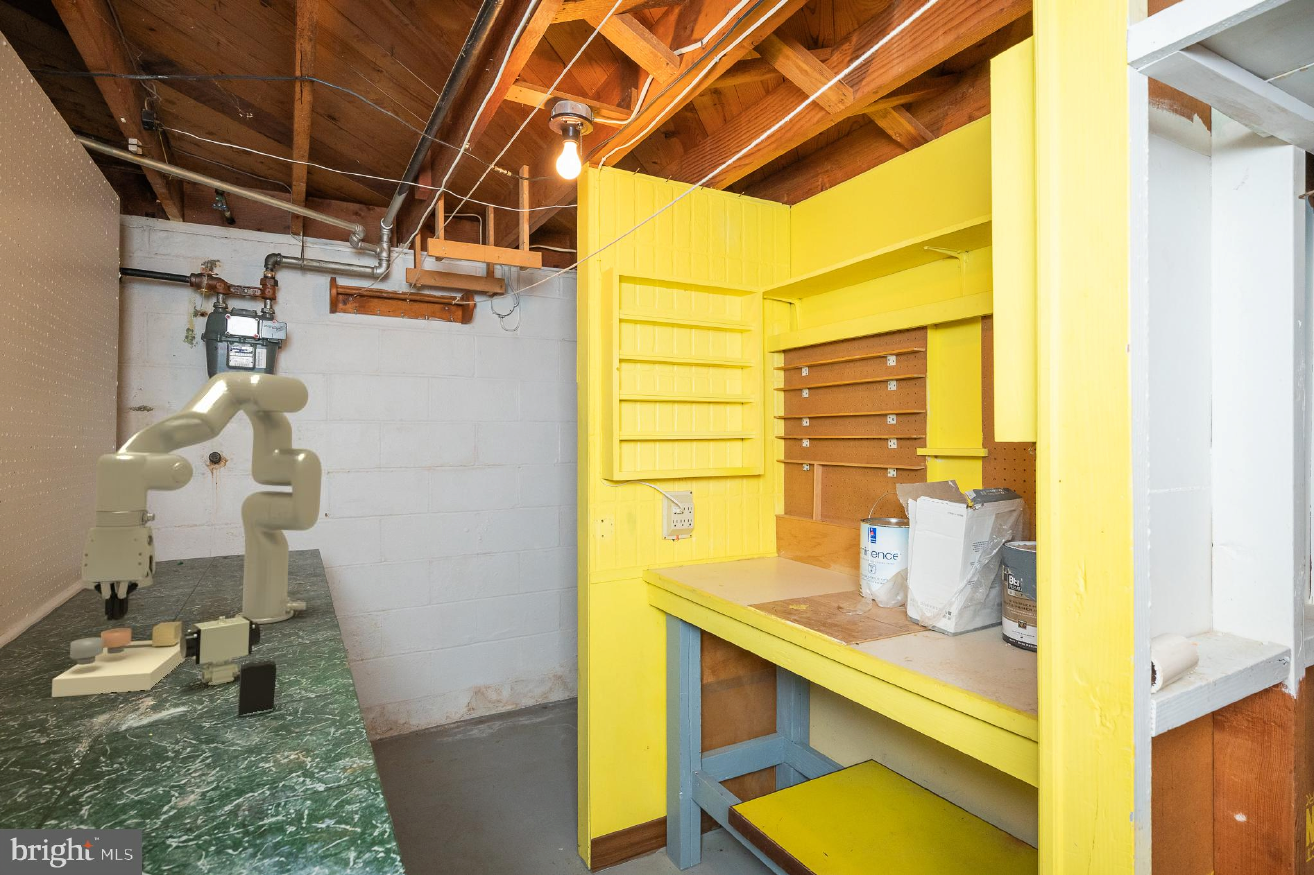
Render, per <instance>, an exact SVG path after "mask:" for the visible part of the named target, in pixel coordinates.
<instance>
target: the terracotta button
mask: <svg viewBox="0 0 1314 875" xmlns="http://www.w3.org/2000/svg"><path fill="white" fill-rule="evenodd" d="M100 638H103V648H107V653H109V654H113V653H120V652H123V651H124V645H127V644H130V643H131V642H132V628H131V627H129V628H128V627H117V628H111V629H107V630H103V631H101V633H100Z"/></svg>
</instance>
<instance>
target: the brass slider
mask: <svg viewBox="0 0 1314 875" xmlns="http://www.w3.org/2000/svg"><path fill="white" fill-rule="evenodd" d="M182 624H183V622H182V621H169V622H167V621H166V622H160V623H158V624H157V625H155V626H154V627H152V646H167V645H175V644H176V643H177V642H178V641H180V638H181V635H182V629H183V628H182V627H183V625H182Z"/></svg>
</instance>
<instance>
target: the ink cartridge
mask: <svg viewBox="0 0 1314 875" xmlns="http://www.w3.org/2000/svg"><path fill="white" fill-rule="evenodd" d="M239 673H240V674H239V685H238V686H239V689H238V703H237V704H238V705H237V712H238V713H237V714H238V716H239V715H243V714H247V713H253V712H257V711H264V710H268V709H272V708H274V709H275V695H276V694H275V693H276V680H277V664H276V662H275V660H272V661H271V660H270V659H269V660H264V661H257V662H256V661H255V662H247V663H244V664H241V665H240V672H239Z"/></svg>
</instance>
